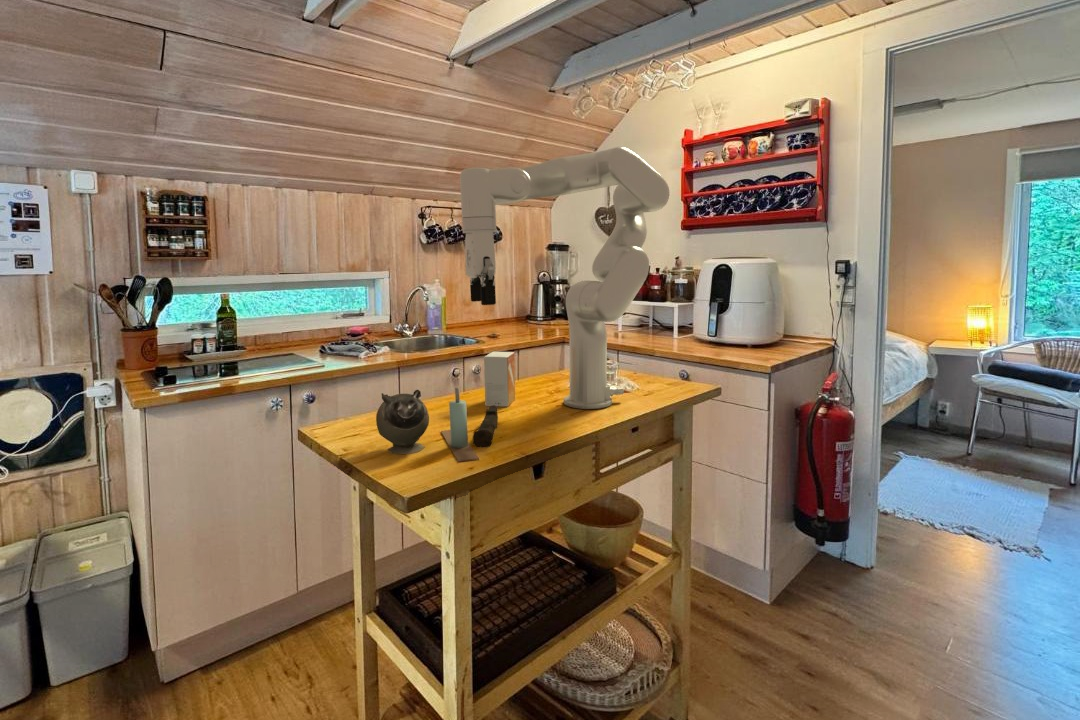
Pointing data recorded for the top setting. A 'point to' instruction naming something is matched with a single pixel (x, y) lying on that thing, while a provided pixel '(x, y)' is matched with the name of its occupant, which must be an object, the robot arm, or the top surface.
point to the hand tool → (486, 428)
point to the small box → (499, 378)
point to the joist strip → (460, 449)
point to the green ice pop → (458, 422)
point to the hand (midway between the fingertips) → (483, 302)
